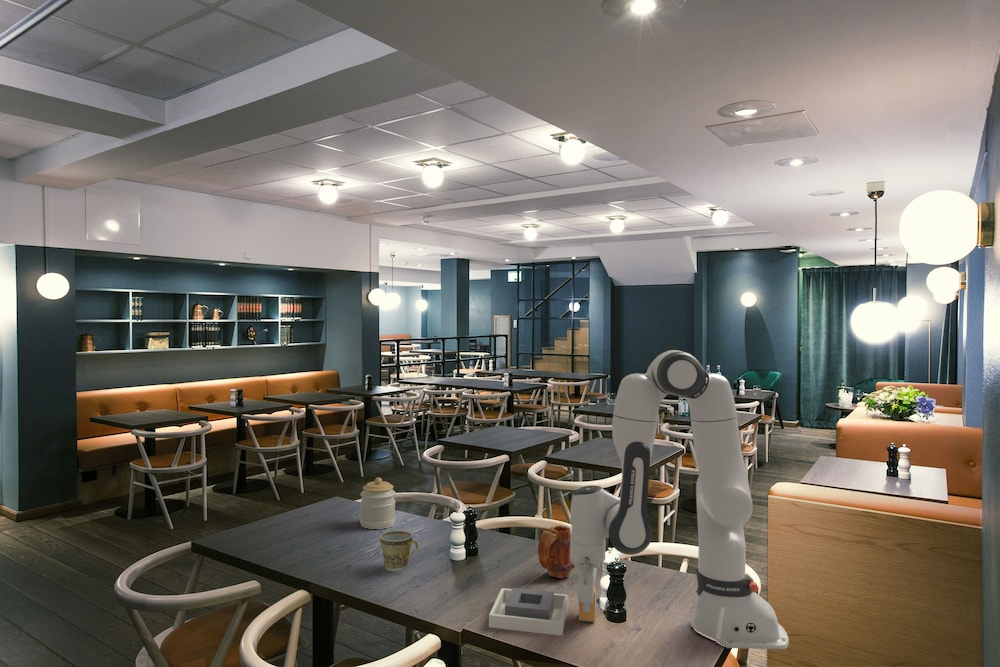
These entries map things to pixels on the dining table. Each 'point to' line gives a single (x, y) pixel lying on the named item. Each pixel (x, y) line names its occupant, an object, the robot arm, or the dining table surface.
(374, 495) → the jar
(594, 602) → the plug
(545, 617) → the socket block
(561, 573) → the mug
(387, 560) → the ceramic cup
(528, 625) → the walled box
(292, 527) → the dining table surface
